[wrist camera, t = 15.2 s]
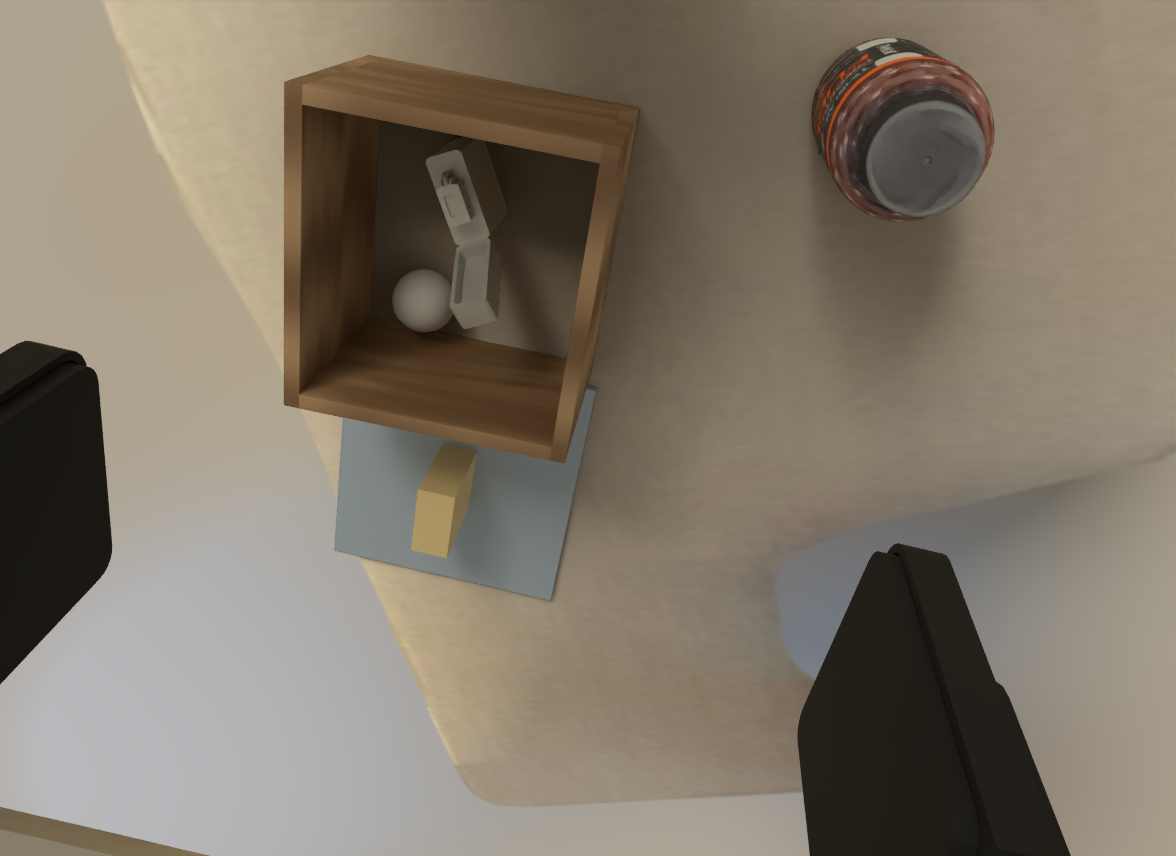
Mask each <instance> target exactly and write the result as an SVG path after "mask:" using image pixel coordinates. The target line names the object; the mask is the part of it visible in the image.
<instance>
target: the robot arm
mask: <svg viewBox="0 0 1176 856" xmlns="http://www.w3.org/2000/svg"><path fill="white" fill-rule="evenodd" d="M111 554H112V538H111V526H110V514H109V502H108V490H107V478H106V466H105V455H104V444H103V431H102V419H101V407H100V395H99V383H98V378H97V374H96V373H95V371H94V370H93V369H92V368H90V367H87V366H86V362H85V360H84V358H83V357H82V355H80V354H79V353H77V352H75V351H71V350H66V349H62V348H58V347H54V346H49V345H45V344H41V343H37V342H32V341H24V342H21V343H18V344H16V345H15V346H13V347H11V348H10V349H8V350H6V351H5V352H3V353H1V354H0V684H1V683H2V682H3V681H4V680H5V679H6V678H7V677H8V675H9V674H10V673H11V672H12V671H13V670H14V669H15V668H16V667H17V666H18V665H19V664H20V663H21V662H22V661H23V660H24V659H25V657H26V656H27V655H28V654H29V653H30V652H31V651H32V650H33V649H34V648H35V647H36V646H37V644H39V642H40V641H41V640H42V639H43V638H44V637H45V636H46V635H47V634H48V633H49V632H50V631H51V630H52V629H53V628H54V627H55V626H56V625H57V623H58V622H59V621H60V620H61V619H62V618H63V617H64V616H65V615H66V614H67V613H68V612H69V611H70V610H71V609H72V607H73V606H74V605H75V604H76V603H77V602H78V601H79V600H80V599H81V598H82V597H83V596H84V595H85V594H86V593H87V592H88V591H89V589H90V588H91V587H92V586H93V585H94V584H95V583H96V582H97V581H98V580H99V579H100V578H101V576H102V575H103V574H104V572H105V570H106V569H107V567H108V564H109V562H110V559H111ZM798 749H799V758H800V767H801V777H802V786H803V795H804V805H805V813H806V823H807V833H808V841H809V851H810V856H1071V855H1070V853H1069V850H1068V848H1067V845H1066V843H1065V840H1064V837H1063V835H1062V832H1061V830H1060V827H1059V824H1058V822H1057V820H1056V817H1055V814H1054V812H1053V809H1052V807H1051V804H1050V802H1049V799H1048V796H1047V794H1046V791H1045V788H1044V786H1043V784H1042V781H1041V778H1040V776H1039V773H1038V771H1037V768H1036V765H1035V763H1034V760H1033V758H1032V755H1031V753H1030V750H1029V747H1028V745H1027V742H1026V740H1025V737H1024V735H1023V732H1022V729H1021V727H1020V724H1019V722H1018V719H1017V716H1016V714H1015V712H1014V709H1013V706H1012V704H1011V701H1010V699H1009V697H1008V695H1007V693H1006V691H1005V689H1004V688H1003V686H1001V685H1000V684H999V683H997V682H996V681H995V679H994V676H993V673H992V671H991V668H990V665H989V663H988V660H987V657H986V655H985V652H984V650H983V647H982V644H981V641H980V639H979V636H978V634H977V631H976V628H975V626H974V623H973V620H972V618H971V615H970V613H969V610H968V607H967V605H966V602H965V599H964V597H963V594H962V591H961V589H960V586H959V583H958V581H957V578H956V576H955V573H954V570H953V568H952V565H951V563H950V560H949V559H948V557H947V556H946V555H944V554H941V553H937V552H933V551H928V550H924V549H920V548H916V547H912V546H907V545H902V544H898V543H897V544H895V545H893V546H892V547H891V548H890V549H889V551H888V553H883V552H879V551H877V552H875V553H874V554H873V555H872V556H871V558H870V560H869V562H868V564H867V566H866V568H865V571H864V573H863V575H862V578H861V580H860V582H859V584H858V586H857V589H856V591H855V593H854V595H853V597H852V600H851V602H850V604H849V606H848V609H847V611H846V613H845V615H844V618H843V620H842V622H841V625H840V626H839V629H838V631H837V633H836V636H835V638H834V640H833V642H832V644H831V647H830V649H829V651H828V653H827V656H826V658H825V660H824V662H823V665H822V667H821V669H820V671H819V673H818V676H817V678H816V680H815V682H814V685H813V687H812V689H811V691H810V693H809V696H808V698H807V700H806V702H805V705H804V707H803V710H802V712H801V716H800V720H799V726H798ZM0 856H208V855H204V854H199V853H195V852H191V851H186V850H182V849H178V848H174V847H170V846H165V845H161V844H157V843H153V842H149V841H144V840H140V839H136V838H132V837H127V836H123V835H119V834H115V833H110V832H106V831H102V830H98V829H93V828H89V827H85V826H80V825H76V824H71V823H67V822H63V821H58V820H54V819H50V818H46V817H41V816H37V815H32V814H28V813H24V812H19V811H15V810H11V809H7V808H2V807H0Z"/></svg>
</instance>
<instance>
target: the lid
mask: <svg viewBox="0 0 1176 856" xmlns="http://www.w3.org/2000/svg"><path fill="white" fill-rule="evenodd" d="M596 389H597V388H594V387H590V386H587V389H586V392H585V396H584V399H583V402H582V406H581V409H580V413H579V416H578V420H577V423H576V427H575V430H574V433H573V437H572V440H571V444H570V447H569V451H568V454H567V458H566V461H565V463H560V462H555V461H550V460H545V459H541V458H536V457H531V456H526V455H521V454H517V453H512V452H507V451H502V450H497V449H492V448H488V447H483V446H478V445H473V444H468V443H464V442H459V441H454V440H449V439H444V438H440V437H435V436H430V435H425V434H420V433H416V432H411V431H406V430H401V429H396V428H392V427H387V426H382V425H377V424H372V423H368V422H363V421H358V420H353V419H348V418H344V417H343V426H342V441H341V457H340V472H339V488H338V503H337V518H336V520H337V521H336V534H335V549H334V550H335V551H338V552H343V553H348V554H351V555H356V556H360V557H364V558H369V559H373V560H377V561H381V562H386V563H390V564H394V565H399V566H403V567H407V568H412V569H416V570H420V571H425V572H429V573H433V574H438V575H442V576H446V577H451V578H455V579H459V580H464V581H468V582H472V583H476V584H481V585H485V586H489V587H494V588H498V589H502V590H507V591H511V592H515V593H520V594H524V595H528V596H533V597H537V598H541V599H546V600H551V596H552V592H553V587H554V583H555V578H556V573H557V569H558V564H559V560H560V555H561V550H562V546H563V541H564V537H565V532H566V527H567V523H568V518H569V514H570V509H571V504H572V500H573V495H574V491H575V486H576V481H577V477H578V472H579V468H580V463H581V458H582V454H583V449H584V445H585V440H586V435H587V431H588V426H589V422H590V417H591V412H592V408H593V403H594V399H595V394H596Z"/></svg>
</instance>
